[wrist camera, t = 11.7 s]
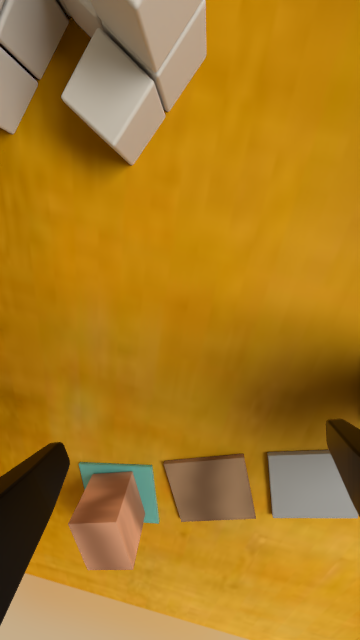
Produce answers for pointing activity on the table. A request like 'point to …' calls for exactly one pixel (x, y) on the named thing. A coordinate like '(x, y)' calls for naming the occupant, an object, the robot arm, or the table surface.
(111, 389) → the table surface
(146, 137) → the puzzle cube
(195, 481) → the walnut coaster
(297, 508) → the slate coaster
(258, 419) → the table surface
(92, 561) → the terracotta brick
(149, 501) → the teal tile
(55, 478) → the robot arm
